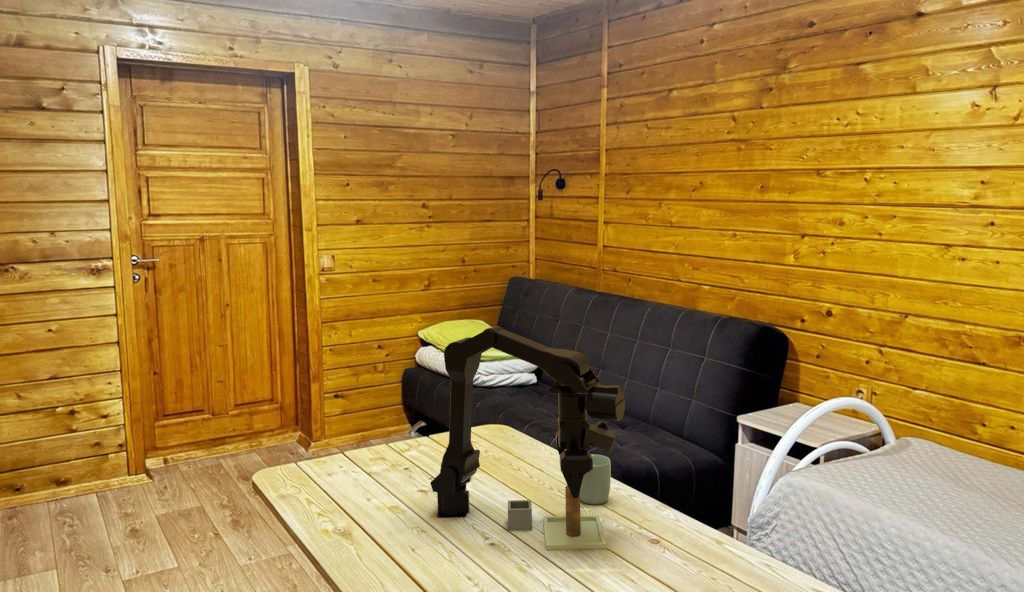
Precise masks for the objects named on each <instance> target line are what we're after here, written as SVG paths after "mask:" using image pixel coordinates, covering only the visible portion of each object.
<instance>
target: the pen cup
mask: <svg viewBox="0 0 1024 592" xmlns="http://www.w3.org/2000/svg"><path fill="white" fill-rule="evenodd" d="M532 506H533V505H532V500H531V499H525V500H524V499H523V500H522V499H521V500H520V499H519V500H518V499H515V500H512V499H511V500H507V525H508V526H507V528H508V529H507V530H508V531H512V532H513V531H533V513H532V512H533V507H532Z"/></svg>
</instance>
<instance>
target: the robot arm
mask: <svg viewBox="0 0 1024 592" xmlns="http://www.w3.org/2000/svg"><path fill="white" fill-rule="evenodd" d="M491 349H495V350H497V351H500V352H501V353H505V354H507V355H509V356H512V357H514V358H516V359H518V360H521V361H523V362H526V363H529V364H531V365H533V366H535V367H538V368H539V369H541V370H543V371H544V372H545V374H546V375H548V377H550V378H551V379H553V380H554V381H555V382H554V384H553V385H552V386H551V387H550V388H549V389H548V390H547V392H548V393H549V394H557V395H558V396H557V397H558V399H557V400H558V402H557V403H558V404H557V405H558V417H557V422H558V430H557V431H556V432H555V444H556V450H557V452H558V455H559V467H560V472H561V473H562V476H563V479H564V480H565V482H566V486H567V485H568V487H569V490H570V492H571V494H572V497H573V498H578V497H579V493H580V489H581V484H582V480H583V476H584V475H585V474H586V473H587V472H590V471H591V470H592V469H593V459H592V456H591V454H592V453H590V452H589V451H588V450H589V449H591V446H592V447H595V448H598V449H601V450H604V452H607V453H611V452H612V450H613V447H614V444H615V441H616V439H617V436H616V434H615V432H613V431H612V429H609V426H608V423H607V422H606V421H602V420H608V421H616V422H617V421H618V422H619V421H621V420H622V419H623V417H624V414H625V410H626V399H625V397H624V393H623V392H622V387H621V385H617V384H613V385H605V384H601V380H600V379H599V378H598V376H597V374H596V373H595V372H594V370H593V369H592V368H591V366H590V361H589V359H588V357H587V355H585V354H584V353H583V352H582V351H581V352H580V351H575V350H571V349H566V348H554V347H549V346H546V345H544V344H542V343H540V342H536V341H534V340H532V339H529V338H527V337H524V336H522V335H519V334H517V333H514V332H512V331H509V330H506V329H504V328H503V327H501V326H499V325H493V326H491V327H488V328H485V329H484V330H483V331H481V332H480V333H478V334H476V335H474V336H472V337H471V336H469V337H468V336H466V337H463V338H462V339H458V340H456V341H453V342H450V343H449V344H448V345H447V346H445V348H444V351H443V359H444V360H443V362H444V366H445V367H444V368H445V371H446V373H447V375H448V376H449V379H450V401H449V402H450V404H449V430H448V431H449V432H448V434H449V435H448V443H447V446H446V450H445V452H444V454H443V455H442V458H441V459H442V460H441V465H440V470H439V474H437V475H436V476H435V477H434V478H433V480H431V481H430V486H431V490H432V492H434V493H436V495H437V496H436V497H437V500H436V501H437V515H436V518H439V519H441V518H442V519H444V518H445V519H448V518H451V519H452V518H467V515H468V513H469V512H470V491H469V490H467V484H468V483H470V482H471V479H472V477H473V476H475V475H476V473H477V471H478V468H480V467H481V465H480V454H481V451H480V449H475V448H474V446H473V444H472V422H473V421H472V420H473V419H472V418H473V417H472V415H473V393H474V390H473V389H474V379H475V376H476V375H477V372H478V369H479V367H480V365H481V360H482V354H483V353H485V352H487V351H488V350H491ZM582 380H584V381H582ZM588 416H590V417H591V418H592V419H599V421H598V422H597V423H596V424H590V422H589V420H588ZM601 419H602V420H601ZM586 449H588V450H586Z"/></svg>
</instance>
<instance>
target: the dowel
mask: <svg viewBox="0 0 1024 592" xmlns="http://www.w3.org/2000/svg"><path fill="white" fill-rule="evenodd" d="M565 516H566V535H568V536H570V537H577V536H580V535H581V519H580V516H581V499H580V493H579V497H578V498H573V497H572V494H571V492H570V490H569V487H568V485H567V484H566V485H565Z"/></svg>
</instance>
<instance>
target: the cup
mask: <svg viewBox="0 0 1024 592" xmlns="http://www.w3.org/2000/svg"><path fill="white" fill-rule="evenodd" d="M590 454H591V456H592V459H593V469H592V470H591V471H590V472H587V473H586V474H585V475H584V476H583V480H582V484H581V489H580V501H582V503H584V504H586V505H595V506H596V505H602V504H604V503H605V502H606V501H608V498H609V496H610V491H611V481H612V480H611V477H612V475H611V474H612V473H611V472H612V471H611V459H610V458H609V457H608V456H606V455H602V454H592V453H590Z"/></svg>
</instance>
